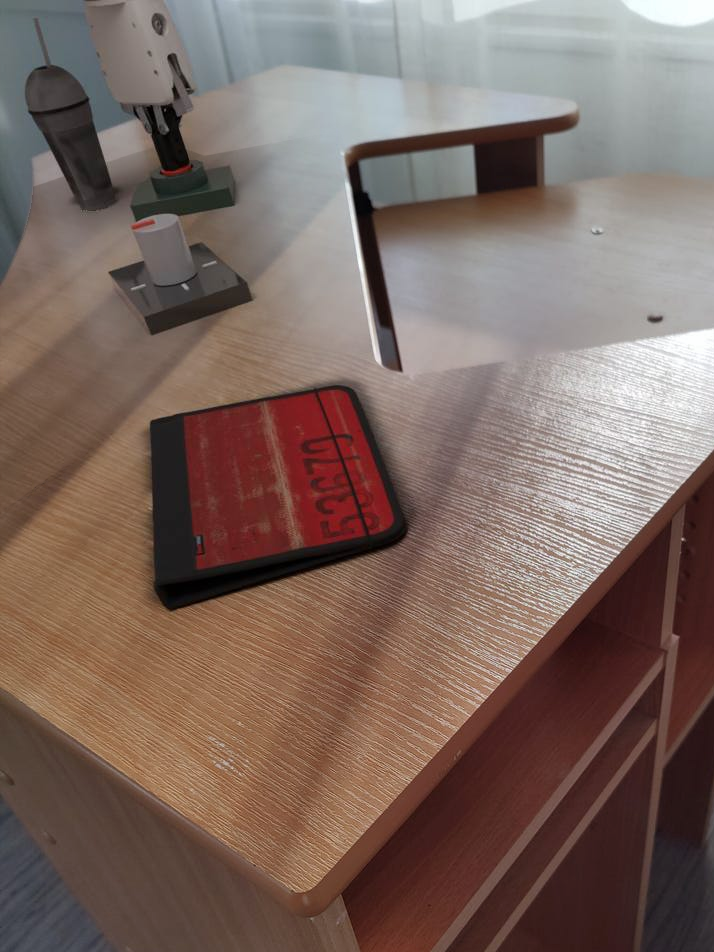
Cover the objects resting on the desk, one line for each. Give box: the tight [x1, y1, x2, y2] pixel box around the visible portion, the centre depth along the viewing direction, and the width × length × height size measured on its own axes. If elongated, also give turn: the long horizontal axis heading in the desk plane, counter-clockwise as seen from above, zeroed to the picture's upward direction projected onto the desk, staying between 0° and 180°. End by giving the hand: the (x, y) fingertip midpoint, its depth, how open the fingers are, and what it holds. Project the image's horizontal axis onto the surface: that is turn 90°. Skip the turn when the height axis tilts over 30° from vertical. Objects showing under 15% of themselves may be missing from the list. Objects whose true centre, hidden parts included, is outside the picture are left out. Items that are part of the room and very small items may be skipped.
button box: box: [129, 159, 236, 223], centre depth 108 cm, size 12×9×4 cm
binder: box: [149, 384, 408, 610], centre depth 61 cm, size 16×2×21 cm
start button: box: [161, 164, 192, 175], centre depth 107 cm, size 4×4×2 cm
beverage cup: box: [24, 17, 117, 212], centre depth 106 cm, size 7×7×20 cm
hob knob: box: [130, 214, 197, 286], centre depth 82 cm, size 4×4×5 cm
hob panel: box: [107, 241, 254, 337], centre depth 85 cm, size 14×10×3 cm
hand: (176, 166), depth 106 cm, fingers closed
